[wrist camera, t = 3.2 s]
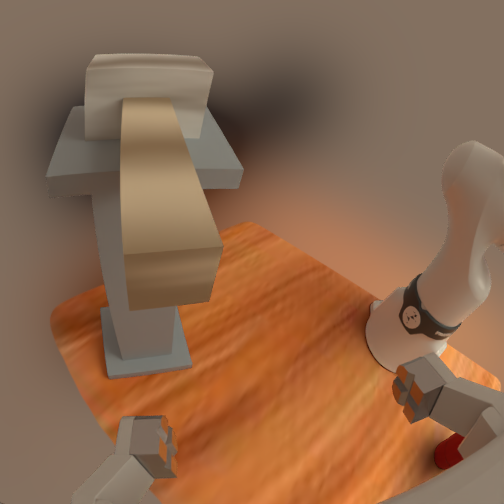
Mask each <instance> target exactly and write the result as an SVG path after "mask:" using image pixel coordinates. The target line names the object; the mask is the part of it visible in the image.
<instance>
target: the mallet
mask: <svg viewBox="0 0 504 504" xmlns="http://www.w3.org/2000/svg"><path fill="white" fill-rule="evenodd" d="M213 73H214V72H213V71H212V70H211V69H210V68H209V67H208V66H207V64H205V62H204V61H203V60H202V59H201V58H199V57H194V56H182V55H167V54H103V55H95V57H94V58H93V60H92V61H91V63H90V65H89V66H88V68H87V69H86V82H85V141H95V140H112V139H121V146H120V202H121V226H122V243H123V256H124V267H125V277H126V287H127V295H128V303H129V311H136V310H145V309H154V308H163V307H171V306H179V305H187V304H195V303H202V302H209V300H210V296H211V292H212V288H213V284H214V281H215V277H216V273H217V269H218V266H219V262H220V258H221V254H222V251H223V247H224V246H223V243H222V241H221V238H220V235H219V233H218V230H217V227H216V225H215V222H214V219H213V217H212V214H211V211H210V209H209V206H208V203H207V201H206V198H205V195H204V192H203V190H202V187H201V184H200V181H199V179H198V176H197V173H196V170H195V168H194V165H193V162H192V159H191V157H190V154H189V151H188V148H187V145H186V143H185V140H184V138H197V139H199V138H200V133H201V128H202V123H203V118H204V114H205V109H206V104H207V99H208V95H209V91H210V86H211V81H212V78H213Z"/></svg>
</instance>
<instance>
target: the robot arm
mask: <svg viewBox="0 0 504 504" xmlns="http://www.w3.org/2000/svg"><path fill="white" fill-rule="evenodd" d="M441 183H442V191H443V194H444V197H445V200H446V204H447V208H448V231H447V235H446V239H445V241H444V244H443V246H442V248H441V249H440V251H439V252H438V254H437V255H436V257H435V258H434V260H433V261H432V263H431V264H430V265H429V266H428V267H427V269H426V270H425V271H424V272H423V273H421V274H419V275H418V276H417V277H416V278H414V279H413V280H412V281H411V282H410V284H409V286H407V287H402V288H400V287H398V288H396V289H395V290H394V291H393V292H392V293H391V294H390V295H389V296H388V297H387V298H386V299H385V300H379V301H374V302H373V303H372V304H371V306H370V312H371V315H370V317H369V319H368V322H367V325H366V339H367V343H368V346H369V348H370V350H371V352H372V354H373V356H374V357H375V358H376V360H377V361H378V362H379V363H380V364H381V365H382V366H384V367H385V368H386V369H388V370H390V371H392V372H394V373H396V374H397V375H398V376H397V377H396V378H395V380H394V381H393V385H392V390H393V395H394V398H395V400H396V401H397V403H398V404H400V405H402V406H404V408H403V413H404V414H405V416H406V418H407V419H408V421H409V422H410V424H412V423H415V422H417V421H419V420H422V419H424V418H426V417H428V416H429V417H430V418H431V419H433V420H435V421H437V422H438V423H440V424H442V425H444V426H445V427H447V428H449V429H451V430H452V431H454V432H456V433H458V434H460V435H462V436H463V437H465V438H464V440H463V441H462V442H461V444H460V445H459V447H458V451H459V452H460V454H461V455H462V457H463V459H464V460H462V461H461V462H459V463H457V464H456V465H454V466H452V467H451V468H449V469H447V470H446V471H444V472H442V473H440V474H438V475H437V476H435V477H433V478H431V479H429V480H427V481H425V482H423V483H421V484H420V485H417V486H415V487H413V488H411V489H409V490H407V491H405V492H403V493H401V494H398V495H396V496H394V497H391V498H389V499H387V500H384V501H382V502H379V503H377V504H504V393H502V392H499V391H497V390H494V389H491V388H488V387H485V386H483V385H480V384H477V383H474V382H472V381H469V380H466V379H463V378H461V377H459V378H456V377H455V375H454V374H453V373H452V372H451V371H450V370H449V368H448V367H447V366H446V365H445V364H444V363H443V361H442V360H441V359H440V358H439V356H440V355H441V354H442V353H443V351H444V350H445V349H446V347H447V343H446V341H447V340H448V338H449V337H450V336H451V334H453V333H454V332H455V331H456V330H457V329H458V327H459V326H460V325H461V323H462V321H463V320H464V319H465V318H466V317H468V316H469V315H470V314H471V313H472V312H473V311H474V310H475V309H476V308H477V307H478V306H480V305H481V304H482V303H483V301H485V300H486V298H487V296H488V294H489V291H490V288H491V276H490V271H489V268H488V265H487V262H486V259H485V257H484V252H485V250H486V249H487V248H488V247H489V246H490V245H491V244H493V245H494V246H496V247H497V248H498V249H499V250H500V251H501V252H502V253H503V254H504V157H503V156H502V155H500V154H499V153H497V152H495V151H494V150H492V149H490V148H488V147H486V146H484V145H483V144H480V143H478V142H477V141H469V142H465V143H463V144H461V145H459V146H458V147H456V148H455V149H454V150H453V151H452V152H451V153H450V154H449V156H448V158H447V159H446V161H445V164H444V166H443V170H442V177H441ZM176 453H177V439H176V435H175V432H174V430H173V428H171V427H169V426H168V420H167V418H166V416H165V415H162V416H123V417H122V418H121V420H120V424H119V429H118V435H117V440H116V446H115V452H114V454H111V455H110V456H108V457H107V459H106V460H105V461H104V462H103V463H102V464H101V465H100V466H99V467H98V468H97V469H96V470H95V471H94V472H93V473H92V474H91V475H90V476H89V477H88V479H87V480H86V481H85V482H84V483H83V484H82V485H81V486H80V487H79V488H78V489H77V490H76V491H75V492H74V493H73V495H72V500H71V504H139V502H140V501H141V499H142V498H143V496H144V495H145V493H146V492H147V490H148V489H149V487H150V486H151V484H152V483H153V481H154V479H157V478H177V461H176V459H175V458H174V455H175V454H176ZM0 504H3V503H1V502H0Z"/></svg>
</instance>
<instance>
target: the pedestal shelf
mask: <svg viewBox="0 0 504 504" xmlns="http://www.w3.org/2000/svg"><path fill="white" fill-rule="evenodd" d="M184 140H185V143H186V145H187V148H188V151H189V154H190V157H191V159H192V162H193V165H194V168H195V170H196V173H197V176H198V179H199V181H200V184H201V187H202V189H226V188H227V189H237V188H238V187H239V184H240V180H241V177H242V174H243V170H244V169H243V167H242V165H241V164H240V162H239V160H238V159H237V157H236V155H235V154H234V152H233V150H232V148H231V147H230V145H229V144H228V142H227V140H226V138H225V137H224V135H223V133H222V132H221V130H220V128H219V127H218V125H217V123H216V122H215V120H214V118H213V117H212V115H211V113H210V112H209V110H208V108H207V107H206V109H205V114H204V118H203V123H202V128H201V133H200V138H199V139H197V138H184ZM120 146H121V139H112V140H95V141H85V106H77V107H73V108H72V110H71V112H70V115H69V117H68V119H67V122H66V124H65V126H64V129H63V131H62V133H61V136H60V138H59V141H58V143H57V146H56V149H55V151H54V154H53V157H52V160H51V163H50V165H49V168H48V171H47V174H46V182H47V188H48V193H49V198H56V197H66V196H76V195H88V194H92V203H93V212H94V221H95V229H96V237H97V244H98V250H99V256H100V263H101V268H102V274H103V279H104V284H105V289H106V294H107V299H108V304H109V307H102V308H100V311H101V324H102V334H103V343H104V352H105V359H106V367H107V374H108V377H109V379H118V378H126V377H135V376H142V375H150V374H157V373H164V372H170V371H176V370H182V369H188V368H192V361H191V358H190V354H189V350H188V347H187V343H186V339H185V336H184V332H183V328H182V324H181V320H180V316H179V312H178V308H177V306H171V307H163V308H154V309H145V310H136V311H129V303H128V295H127V287H126V277H125V267H124V256H123V243H122V226H121V202H120Z"/></svg>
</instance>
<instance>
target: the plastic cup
mask: <svg viewBox="0 0 504 504" xmlns="http://www.w3.org/2000/svg"><path fill="white" fill-rule="evenodd" d="M464 438H465V437H463V436H462V435H460V434H458V433H455V434H453V435H452V436H450V437H449V438H448V439H446V440H444V441H443V442H441V443H440V444H439V445H438V446H437V448H436V450H435V453H434V459H435V463H436V465H437V466H438V467H439V468H441V469H449V468H451V467H452V466H454V465H456V464H457V463H459V462H461V461H462V460H464V459H463V457H462V455H461V454H460V452H459V451H458V447H459V445H460V444H461V442H462V441H463V440H464Z"/></svg>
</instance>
